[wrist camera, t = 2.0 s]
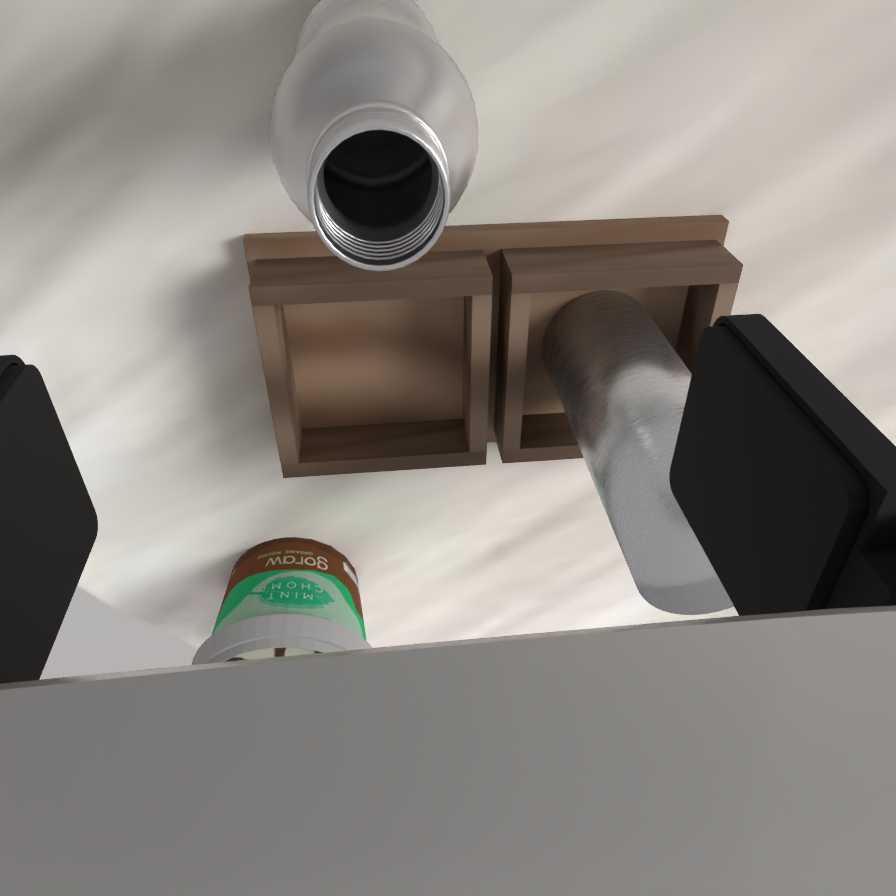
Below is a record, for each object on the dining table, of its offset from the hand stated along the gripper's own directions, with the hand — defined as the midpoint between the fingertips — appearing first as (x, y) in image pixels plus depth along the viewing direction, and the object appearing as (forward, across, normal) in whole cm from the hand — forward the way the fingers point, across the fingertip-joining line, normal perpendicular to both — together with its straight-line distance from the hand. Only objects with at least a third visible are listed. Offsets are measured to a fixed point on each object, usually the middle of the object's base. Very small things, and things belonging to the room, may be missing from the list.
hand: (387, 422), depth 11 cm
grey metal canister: (+28, -13, +15) cm, 34 cm away
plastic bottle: (+30, 0, 0) cm, 30 cm away
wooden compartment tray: (+29, -6, +15) cm, 34 cm away
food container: (+30, +8, +32) cm, 44 cm away
